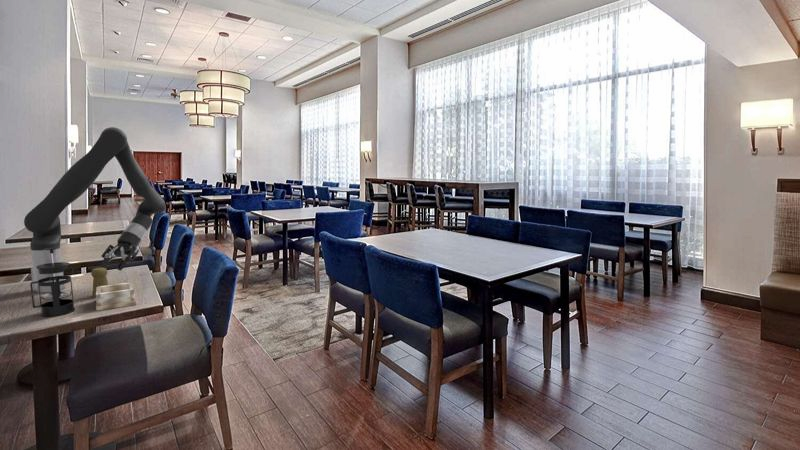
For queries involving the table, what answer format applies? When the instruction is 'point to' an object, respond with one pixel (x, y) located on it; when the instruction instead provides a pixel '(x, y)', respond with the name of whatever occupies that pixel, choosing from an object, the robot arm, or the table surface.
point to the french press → (54, 289)
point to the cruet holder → (115, 296)
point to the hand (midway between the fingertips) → (109, 268)
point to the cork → (98, 279)
